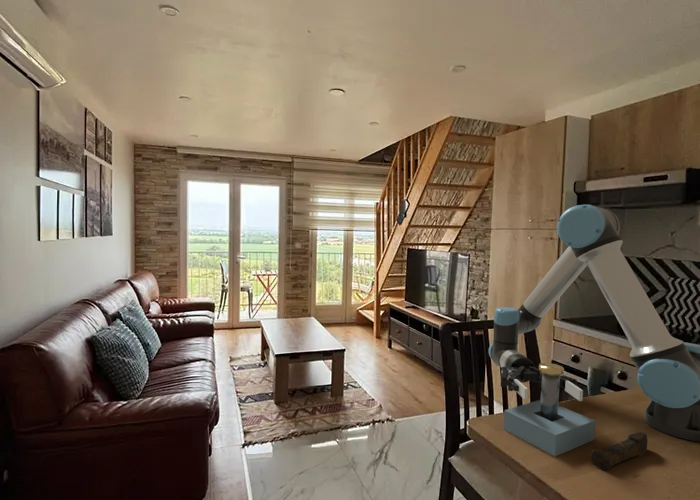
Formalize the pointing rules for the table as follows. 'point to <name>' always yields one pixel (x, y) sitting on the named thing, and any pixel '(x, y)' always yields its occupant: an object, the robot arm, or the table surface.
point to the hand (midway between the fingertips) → (553, 395)
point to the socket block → (549, 428)
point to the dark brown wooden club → (620, 451)
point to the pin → (550, 390)
